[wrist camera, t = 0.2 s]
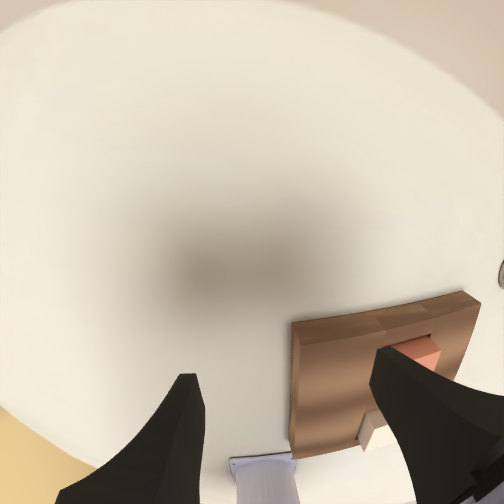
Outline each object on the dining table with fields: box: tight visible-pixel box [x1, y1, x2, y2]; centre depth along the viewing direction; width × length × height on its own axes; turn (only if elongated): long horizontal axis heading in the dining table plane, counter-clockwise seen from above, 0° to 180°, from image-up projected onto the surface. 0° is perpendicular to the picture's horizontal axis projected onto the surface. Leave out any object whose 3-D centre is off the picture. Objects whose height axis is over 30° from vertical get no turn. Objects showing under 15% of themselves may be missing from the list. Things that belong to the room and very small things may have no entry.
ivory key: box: [357, 408, 397, 452], centre depth 21 cm, size 4×4×4 cm
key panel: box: [289, 291, 481, 460], centre depth 22 cm, size 16×18×3 cm
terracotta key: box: [382, 335, 441, 371], centre depth 19 cm, size 4×4×4 cm
